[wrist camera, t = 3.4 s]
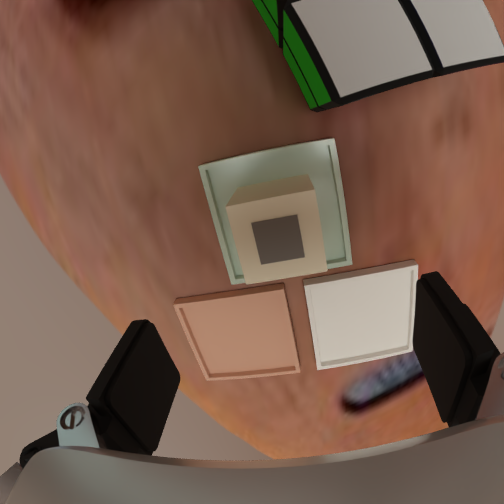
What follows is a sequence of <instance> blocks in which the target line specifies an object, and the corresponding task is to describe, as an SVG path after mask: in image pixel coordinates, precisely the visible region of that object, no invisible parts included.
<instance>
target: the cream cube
mask: <svg viewBox="0 0 504 504" xmlns="http://www.w3.org/2000/svg"><path fill="white" fill-rule="evenodd" d="M225 208H226V211H227V215H228V219H229V223H230V226H231V230H232V234H233V238H234V241H235V245H236V249H237V253H238V256H239V260H240V264H241V267H242V271H243V275H244V278H245V282H246V285H247V284H253V283H260V282H266V281H272V280H279V279H285V278H291V277H297V276H303V275H309V274H315V273H320V272H326V271H328V270H327V262H326V255H325V248H324V242H323V235H322V229H321V222H320V216H319V210H318V204H317V199H316V193H315V189H314V186H313V184H312V182H311V180H310V178H309V176H308V174H304V175H298V176H293V177H288V178H282V179H277V180H272V181H267V182H262V183H257V184H252V185H247V186H243V187H238V188H237V189H236V191H235V192H234V194H233V195H232V197H231V199H230V200H229V202H228V203H227V205H226V207H225Z"/></svg>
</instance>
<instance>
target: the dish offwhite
mask: <svg viewBox="0 0 504 504" xmlns="http://www.w3.org/2000/svg"><path fill="white" fill-rule="evenodd" d="M417 280H418V264H417V263H416V261H415V260H414V259H413V260H408V261H403V262H398V263H393V264H387V265H382V266H377V267H372V268H366V269H361V270H355V271H350V272H344V273H339V274H333V275H327V276H322V277H316V278H310V279H304V288H305V294H306V300H307V306H308V312H309V318H310V324H311V331H312V337H313V344H314V350H315V357H316V364H317V370H321V369H327V368H333V367H339V366H345V365H351V364H356V363H361V362H367V361H371V360H376V359H381V358H386V357H390V356H395V355H399V354H403V353H408V352H412V349H413V342H412V340H413V329H414V316H415V299H416V282H417Z"/></svg>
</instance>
